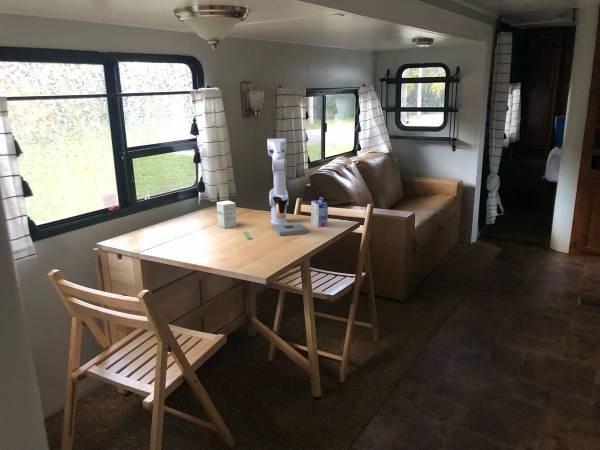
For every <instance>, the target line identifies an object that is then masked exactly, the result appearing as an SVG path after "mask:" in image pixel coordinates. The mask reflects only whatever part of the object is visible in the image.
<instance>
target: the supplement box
mask: <svg viewBox="0 0 600 450" xmlns="http://www.w3.org/2000/svg"><path fill="white" fill-rule="evenodd" d="M236 208H237V206H236V202H233V201H231V200H223V201H222V200H221V201H217V202H216V212H217V215H216V216H217V217H216V218H217V226H218V227H221V228H222V229H223V228H224V229H230V228H234V227H237V209H236Z"/></svg>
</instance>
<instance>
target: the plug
mask: <svg viewBox="0 0 600 450" xmlns="http://www.w3.org/2000/svg"><path fill="white" fill-rule="evenodd" d="M276 211H277V219H284V218H285V211H284V213H280V212H279V207H278V203H277V204H276Z"/></svg>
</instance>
